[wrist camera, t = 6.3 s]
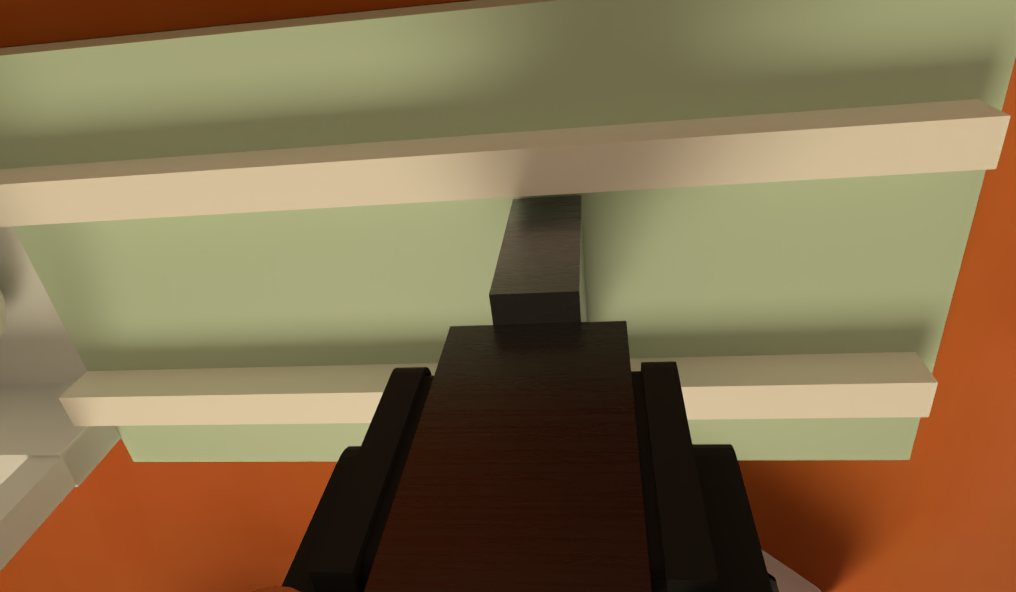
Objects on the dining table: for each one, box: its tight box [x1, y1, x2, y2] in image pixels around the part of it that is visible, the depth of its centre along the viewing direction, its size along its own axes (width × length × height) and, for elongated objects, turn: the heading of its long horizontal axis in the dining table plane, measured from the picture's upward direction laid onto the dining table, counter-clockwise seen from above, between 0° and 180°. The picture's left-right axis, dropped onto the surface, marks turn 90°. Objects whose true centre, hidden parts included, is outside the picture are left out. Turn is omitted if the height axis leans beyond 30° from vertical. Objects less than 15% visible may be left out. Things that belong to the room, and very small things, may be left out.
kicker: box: [364, 195, 652, 592], centre depth 11 cm, size 3×4×10 cm
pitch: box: [0, 0, 1016, 462], centre depth 16 cm, size 22×12×3 cm, turn 96°
